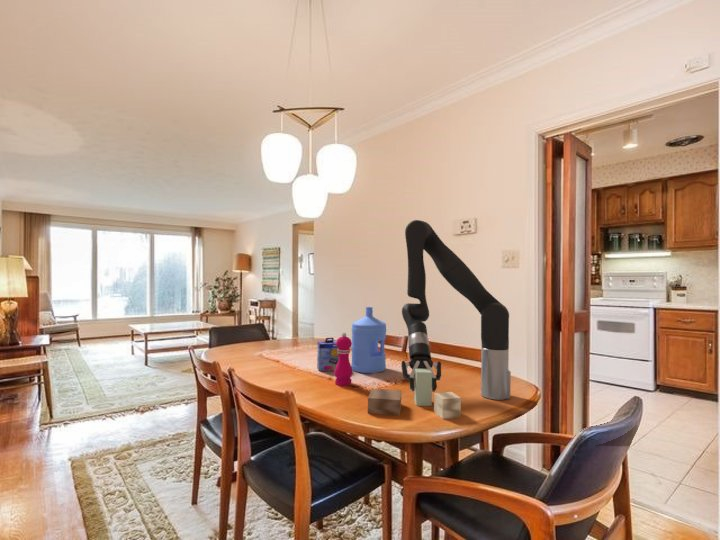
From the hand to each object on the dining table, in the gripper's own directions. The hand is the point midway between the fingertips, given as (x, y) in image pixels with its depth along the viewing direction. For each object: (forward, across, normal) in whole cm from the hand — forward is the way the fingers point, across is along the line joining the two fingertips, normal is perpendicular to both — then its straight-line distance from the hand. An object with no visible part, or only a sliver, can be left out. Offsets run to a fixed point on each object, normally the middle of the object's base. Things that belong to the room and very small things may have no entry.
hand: (423, 390), depth 127 cm
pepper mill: (-12, -28, +20) cm, 36 cm away
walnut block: (+7, -13, +1) cm, 15 cm away
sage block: (+2, 0, +5) cm, 5 cm away
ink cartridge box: (-28, -36, +35) cm, 58 cm away
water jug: (-29, -18, +36) cm, 49 cm away
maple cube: (+9, +6, -2) cm, 11 cm away
